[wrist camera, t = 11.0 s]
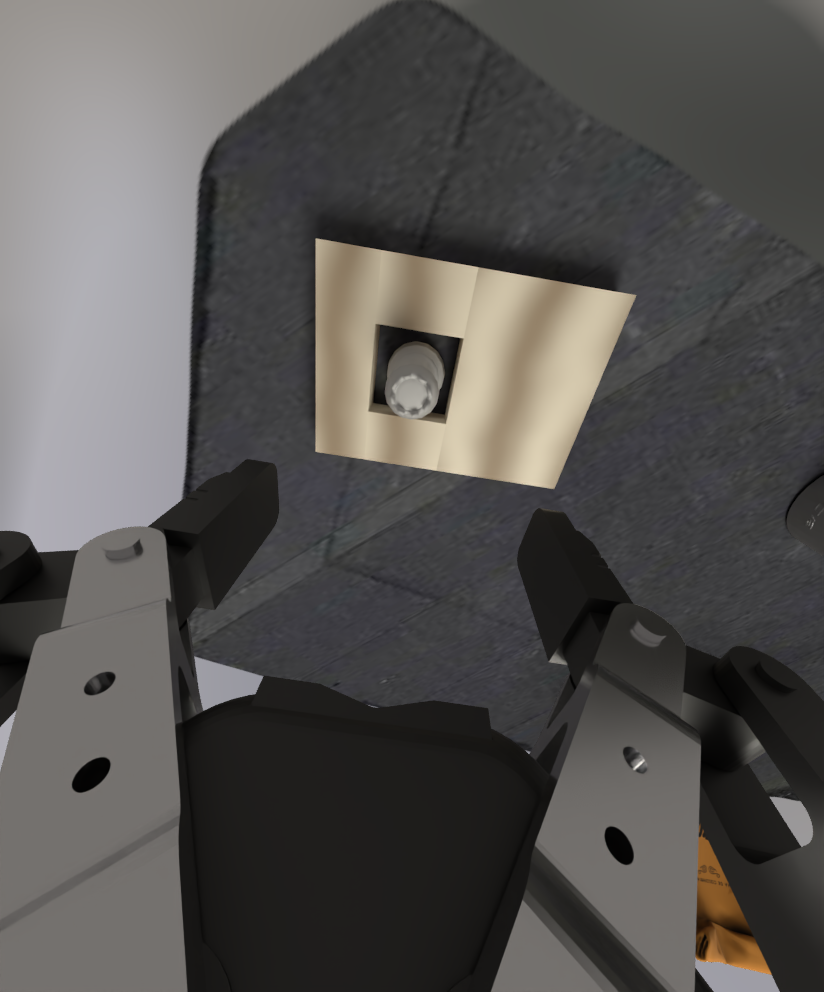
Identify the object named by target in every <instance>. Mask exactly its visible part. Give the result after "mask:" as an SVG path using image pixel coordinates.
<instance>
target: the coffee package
mask: <svg viewBox="0 0 824 992" xmlns="http://www.w3.org/2000/svg"><path fill="white" fill-rule="evenodd" d="M695 957H696V959H697V960H700V961H703V962H706V961H708V962H722V963H724V964H729V965H732V966H735V967H740V968H744V969H749V970H754V971H758V972H762V973H766V974H771V972H770V970H769V968H768V966H767V963H766V961H765V959H764V957H763V955H762V953H761V951H760V949H759V947H758V944H757V942H756V940H755V938H754V936H753V934H752V932H751V930H750V928H749V925H748V923H747V921H746V919H745V917H744V915H743V913H742V911H741V909H740V906H739V904H738V902H737V900H736V898H735V896H734V894H733V892H732V890H731V887H730V885H729V883H728V881H727V879H726V877H725V875H724V873H723V871H722V868H721V866H720V864H719V862H718V860H717V858H716V856H715V854H714V852H713V849H712V847H711V845H710V843H709V841H708V839H707V837H706V835H705V833H704V830H703V828H702V826H701V824H700V822H699V838H698V876H697V914H696V952H695ZM771 975H772V974H771Z"/></svg>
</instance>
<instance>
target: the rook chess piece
mask: <svg viewBox="0 0 824 992" xmlns="http://www.w3.org/2000/svg"><path fill="white" fill-rule="evenodd" d="M444 375H445V370H444V363H443V360H442V358H441V356H440V355H439V353H438V351H437V350H435V349H434V348H433V347H431V346H430V345H429V344H427V343H422V342H418V341H415V342H410V343H405V344H403V345H402V346H401V347H399V348H398V349H397V350H395V352H394V353H393V355H392V357H391V358H390V360H389V363H388V370H387V378H388V380H387V381H386V387H385V396H386V401H387V404H388V405H389V407H390V408H391V409H392V411H393V412H394V413H396V414H397V415H399V416H400V417H402V418H406V419H411V420H413V419H418V418H423V417H424V416H426V415H427V414H429V413H430V412H431V411H432V410H433V408H434V407H435V405H436V404H437V401H438V396H439V390H440V389H441V387H442V384H443V380H444Z"/></svg>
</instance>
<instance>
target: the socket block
mask: <svg viewBox="0 0 824 992" xmlns="http://www.w3.org/2000/svg"><path fill="white" fill-rule="evenodd" d="M635 297H636V295H631V294H626V293H620V292H614V291H609V290H603V289H598V288H592V287H586V286H581V285H575V284H569V283H564V282H558V281H553V280H547V279H541V278H536V277H530V276H524V275H519V274H513V273H508V272H502V271H496V270H491V269H485V268H479V267H474V266H468V265H463V264H457V263H451V262H446V261H440V260H434V259H429V258H423V257H418V256H412V255H406V254H401V253H395V252H390V251H384V250H378V249H373V248H367V247H361V246H356V245H350V244H345V243H339V242H333V241H328V240H322V239H316V452H321V453H327V454H334V455H340V456H346V457H353V458H359V459H366V460H372V461H378V462H385V463H391V464H398V465H404V466H410V467H417V468H423V469H430V470H436V471H442V472H449V473H455V474H462V475H468V476H474V477H481V478H487V479H494V480H500V481H506V482H513V483H519V484H525V485H532V486H538V487H545V488H551V489H554V488H555V485H556V483H557V481H558V478H559V476H560V474H561V471H562V469H563V467H564V464H565V462H566V459H567V457H568V455H569V452H570V450H571V448H572V445H573V443H574V441H575V438H576V436H577V434H578V431H579V429H580V427H581V424H582V422H583V419H584V417H585V415H586V412H587V410H588V408H589V405H590V403H591V401H592V398H593V396H594V394H595V391H596V389H597V386H598V384H599V382H600V379H601V377H602V375H603V372H604V370H605V368H606V365H607V363H608V361H609V358H610V356H611V353H612V351H613V349H614V346H615V344H616V342H617V339H618V337H619V335H620V332H621V330H622V328H623V325H624V323H625V320H626V318H627V316H628V313H629V311H630V309H631V306H632V304H633V302H634V299H635ZM380 324H381V325H387V326H393V327H398V328H404V329H410V330H416V331H422V332H428V333H434V334H440V335H445V336H451V337H457V338H460V342H459V347H458V352H457V357H456V362H455V367H454V372H453V376H452V381H451V386H450V391H449V396H448V401H447V406H446V411H445V415H444V414H438V413H432V412H430V413H429V414H427V415H426V416H424V417H423V418H418V419H413V420H411V419H406V418H402V417H400V416H399V415H397V414H396V413H394V412H393V411H392V409H391V408H390V407H389V406H388V405H382V404H376V403H373V400H374V388H375V377H376V366H377V354H378V343H379V332H380Z"/></svg>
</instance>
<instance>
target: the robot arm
mask: <svg viewBox="0 0 824 992" xmlns="http://www.w3.org/2000/svg"><path fill="white" fill-rule="evenodd" d="M278 514H279V497H278V480H277V469H276V466H275V464H273V463H268V462H262V461H256V460H250V459H247V460H245V461H244V462H242V463H241V464H240V465H239V466H238V467H236V468H235V469H234V470H233V471H232V472H230V473H228V472H226V473H223V474H221V475H218V476H215V477H213V478H210V479H208V480H207V481H206V482H204V483H203V484H202V485H201V486H199V487H198V488H197V489H196V491H193V492H192V493H190V494H189V495H188V496H187V497H186V499H183V500H181V501H180V502H179V503H178V504H176V505H175V506H174V507H172V508H171V509H170V510H169V511H167V512H166V513H165V514H164V515H162V516H161V517H160V518H158V519H157V520H156V521H155V522H153V523H152V524H151V525H149V526H148V527H128V528H122V529H117V530H114V531H110V532H108V533H105V534H102V535H100V536H98V537H96V538H94V539H92V540H90V541H89V542H88V543H86V544H85V545H84V546H83V547H82V548H80V550H74V551H56V552H37V550H36V549H35V547H34V545H33V543H32V541H31V539H30V538H29V537H28V536H27V535H26V534H23V533H20V532H15V531H0V727H1V725H2V724H3V723H4V722H5V721H6V720H7V719H8V718H9V717H10V716H11V715H12V714H13V713H14V712H15V711H16V710H17V711H16V715H15V719H14V722H13V726H12V730H11V733H10V737H9V741H8V745H7V749H6V753H5V756H4V760H3V763H2V767H1V771H0V992H713V991H712V989H711V988H710V987H709V985H708V984H707V983H706V981H705V980H704V979H703V977H702V976H701V975H700V973H699V972H698V971H697V969H696V968H695V952H696V914H697V876H698V838H699V822H700V824H701V826H702V828H703V830H704V833H705V835H706V837H707V839H708V841H709V843H710V845H711V847H712V849H713V852H714V854H715V856H716V858H717V860H718V862H719V864H720V866H721V868H722V871H723V873H724V875H725V877H726V879H727V881H728V883H729V885H730V887H731V890H732V892H733V894H734V896H735V898H736V900H737V902H738V904H739V906H740V909H741V911H742V913H743V915H744V917H745V919H746V921H747V923H748V925H749V928H750V930H751V932H752V934H753V936H754V938H755V940H756V942H757V944H758V947H759V949H760V951H761V953H762V955H763V957H764V959H765V961H766V963H767V966H768V968H769V970H770V972H771V974H772V976H773V978H774V980H775V982H776V985H777V987H778V989H779V991H780V992H824V701H823V700H822V699H821V698H820V697H819V696H818V695H817V694H816V693H815V692H814V690H813V689H812V688H811V687H810V686H809V685H808V684H807V683H806V682H805V681H804V680H803V679H802V678H800V677H799V676H798V675H797V674H796V673H795V672H793V671H792V670H791V669H789V668H788V667H787V666H785V665H784V664H782V663H781V662H779V661H777V660H776V659H774V658H772V657H770V656H769V655H767V654H765V653H762V652H760V651H758V650H755V649H752V648H749V647H744V646H736V647H733V648H731V649H730V650H729V651H728V652H727V653H726V654H725V655H724V656H723V657H722V658H721V659H719V658H717V657H714V656H712V655H709V654H707V653H704V652H702V651H699V650H696V649H694V648H691V647H689V646H686V645H685V642H684V640H683V638H682V637H681V635H680V634H679V633H678V632H677V630H676V629H675V628H674V627H673V626H672V625H671V624H670V623H668V622H667V621H666V620H665V619H664V618H662V617H661V616H659V615H658V614H656V613H654V612H653V611H651V610H649V609H647V608H644V607H642V606H639V605H636V604H633V602H632V601H631V599H630V598H629V596H628V595H627V593H626V592H625V590H624V589H623V587H622V586H621V584H620V583H619V581H618V580H617V578H616V577H615V575H614V574H613V572H612V571H611V569H608V565H607V563H606V562H605V560H604V559H603V558H601V554H600V553H599V551H598V550H597V548H596V547H595V545H594V544H593V543H592V542H591V541H590V540H589V539H588V538H587V537H585V536H584V535H583V534H582V533H581V532H580V531H576V530H575V528H574V526H573V525H572V523H571V522H570V520H569V518H568V517H567V515H566V514H565V513H564V512H559V511H553V510H547V509H541V508H538V509H537V510H536V511H535V512H534V514H533V516H532V518H531V521H530V523H529V526H528V528H527V530H526V533H525V535H524V538H523V540H522V542H521V545H520V547H519V551H518V558H517V562H518V568H519V571H520V574H521V577H522V580H523V583H524V586H525V590H526V593H527V596H528V599H529V602H530V605H531V608H532V611H533V614H534V617H535V621H536V624H537V627H538V630H539V633H540V636H541V639H542V642H543V645H544V648H545V652H546V655H547V658H548V661H549V662H552V663H559V664H566V665H568V668H569V671H570V673H569V674H568V676H567V677H566V679H565V681H564V683H563V685H562V687H561V689H560V692H559V694H558V696H557V698H556V701H555V703H554V705H553V707H552V709H551V712H550V714H549V716H548V718H547V720H546V723H545V725H544V727H543V729H542V732H541V734H540V736H539V738H538V740H537V742H536V744H535V745H534V747H533V749H532V751H531V752H530V754H528V753H527V752H526V751H525V750H524V749H523V748H521V747H520V746H519V745H517V744H516V743H515V742H513V741H512V740H511V739H509V738H507V737H505V736H504V735H502V734H500V733H499V732H497V731H495V730H493V729H491V726H490V719H489V711H488V708H482V707H475V706H468V705H461V704H455V703H448V702H441V701H427V702H419V703H412V704H405V705H397V706H390V707H383V708H374V707H371V706H368V705H366V704H364V703H361V702H359V701H357V700H355V699H352V698H350V697H348V696H346V695H344V694H341V693H339V692H337V691H335V690H332V689H330V688H328V687H326V686H324V685H321V684H317V683H311V682H304V681H297V680H290V679H283V678H276V677H269V676H264V677H263V679H262V681H261V683H260V685H259V688H258V690H257V692H256V694H255V695H248V696H244V697H240V698H236V699H232V700H229V701H226V702H224V703H221V704H218V705H215V706H213V707H211V708H209V709H207V710H205V711H203V708H202V704H201V699H200V694H199V689H198V682H197V674H196V668H195V660H194V652H193V645H192V637H191V630H190V623H189V620H188V616H189V615H190V614H191V613H192V611H193V610H194V609H195V608H196V607H198V608H205V609H211V610H215V609H216V608H217V606H218V605H219V603H220V602H221V601H222V599H223V598H224V596H225V595H226V594H227V592H228V591H229V589H230V588H231V587H232V585H233V584H234V582H235V581H236V580H237V578H238V577H239V575H240V574H241V573H242V571H243V570H244V568H245V567H246V566H247V564H248V563H249V561H250V560H251V559H252V557H253V556H254V554H255V553H256V552H257V550H258V549H259V547H260V546H261V545H262V543H263V542H264V540H265V539H266V538H267V536H268V535H269V533H270V532H271V531H272V529H273V528H274V526H275V524H276V522H277V518H278ZM786 522H787V529H788V531H789V532H790V534H791V535H792V536H793V537H795V538H796V539H797V540H799V541H800V542H802V543H803V544H805V545H806V546H808V547H810V548H811V549H813V550H814V551H816V552H817V553H819V554H820V555H822V556H824V475H823V476H821V477H820V478H818V479H817V480H816V481H814V482H813V483H812V484H810V485H809V486H808V487H807V488H806V489H805V490H804V491H803V492H802V493H801V494H800V495H799V496H798V497H797V499H796V500H795V501H794V503H793V504H792V506H791V508H790V510H789V512H788V516H787V521H786ZM764 752H767V754H768V755H769V756H770V758H771V759H772V761H773V762H774V764H775V765H776V767H777V768H778V769H779V771H780V772H781V774H782V775H783V777H784V778H785V779H786V781H787V782H788V784H789V785H790V787H791V788H792V789H793V791H794V792H795V794H796V795H797V797H798V798H799V799H800V801H801V802H802V804H803V805H804V807H805V808H806V810H807V812H808V814H809V816H810V819H811V821H812V825H813V838H812V840H811V842H810V843H809V844H807V845H806V846H803V847H801V846H800V845H799V843H798V842H797V840H796V838H795V837H794V835H793V833H792V832H791V830H790V829H789V827H788V826H787V824H786V823H785V821H784V820H783V818H782V816H781V815H780V813H779V812H778V810H777V808H776V807H775V805H774V804H773V802H772V801H771V799H770V798H769V796H768V794H767V793H766V791H765V790H764V788H763V787H762V785H761V783H760V782H759V780H758V779H757V777H756V776H755V774H754V773H753V771H752V769H751V768H750V766H749V765H748V763H749V762H751V761H752V760H754V759H755V758H757V757H758V756H760V755H761V754H763V753H764Z"/></svg>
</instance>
